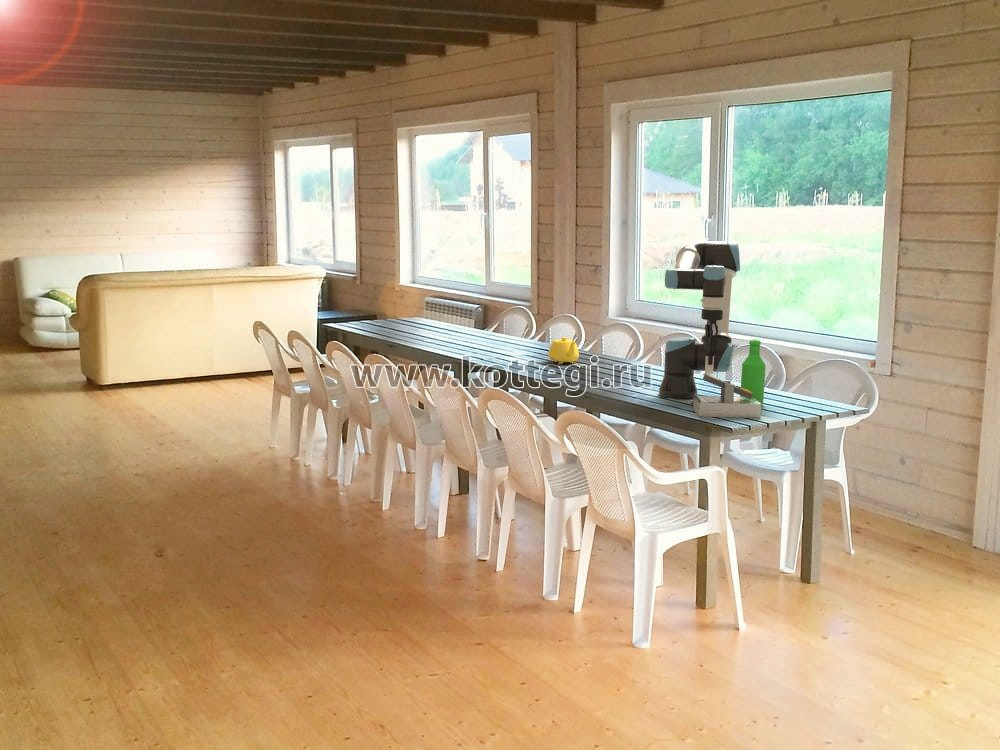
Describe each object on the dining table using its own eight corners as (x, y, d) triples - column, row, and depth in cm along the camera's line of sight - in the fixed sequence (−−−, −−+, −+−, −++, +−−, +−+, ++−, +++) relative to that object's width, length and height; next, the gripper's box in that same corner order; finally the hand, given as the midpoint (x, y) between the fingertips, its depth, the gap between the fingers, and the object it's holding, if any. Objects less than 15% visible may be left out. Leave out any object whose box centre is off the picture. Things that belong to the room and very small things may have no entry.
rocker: (702, 378, 372) (705, 372, 371) (747, 396, 372) (750, 391, 372) (705, 380, 366) (707, 375, 366) (750, 399, 367) (753, 393, 367)
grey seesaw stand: (693, 408, 378) (694, 378, 376) (752, 410, 378) (754, 380, 376) (699, 416, 364) (700, 385, 362) (760, 417, 364) (762, 386, 362)
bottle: (736, 402, 392) (740, 338, 388) (758, 402, 393) (762, 338, 389) (743, 406, 384) (747, 341, 379) (766, 406, 384) (770, 341, 380)
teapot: (562, 367, 470) (562, 340, 468) (541, 361, 488) (542, 335, 486) (587, 365, 476) (587, 339, 474) (566, 359, 494) (566, 334, 492)
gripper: (699, 306, 371) (695, 370, 375) (705, 310, 358) (701, 375, 362) (719, 307, 371) (716, 370, 375) (726, 310, 358) (722, 376, 362)
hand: (709, 373), depth 368 cm, fingers closed
